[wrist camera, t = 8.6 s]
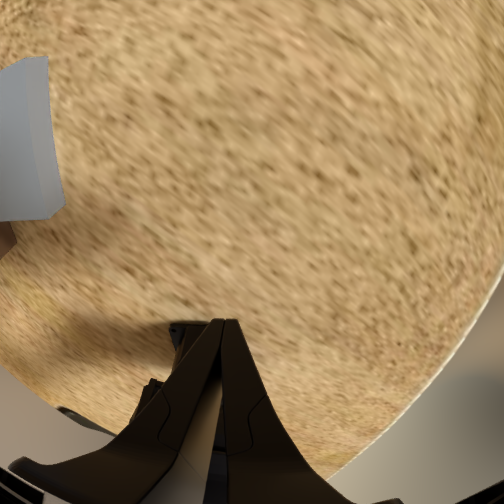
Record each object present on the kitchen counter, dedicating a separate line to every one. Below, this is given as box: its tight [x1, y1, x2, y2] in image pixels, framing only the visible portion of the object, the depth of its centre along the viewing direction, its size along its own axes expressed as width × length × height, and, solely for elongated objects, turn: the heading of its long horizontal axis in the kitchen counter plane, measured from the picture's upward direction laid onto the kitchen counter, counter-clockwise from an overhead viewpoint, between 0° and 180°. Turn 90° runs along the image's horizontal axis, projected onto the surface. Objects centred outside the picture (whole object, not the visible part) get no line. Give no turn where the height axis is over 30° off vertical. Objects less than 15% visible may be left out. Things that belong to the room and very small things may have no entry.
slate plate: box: [0, 56, 66, 222], centre depth 15 cm, size 12×8×3 cm, turn 179°
